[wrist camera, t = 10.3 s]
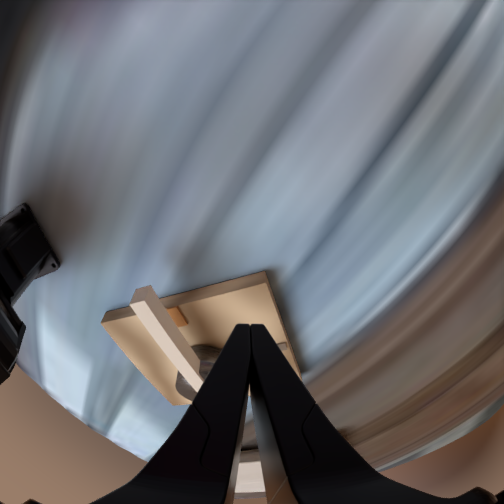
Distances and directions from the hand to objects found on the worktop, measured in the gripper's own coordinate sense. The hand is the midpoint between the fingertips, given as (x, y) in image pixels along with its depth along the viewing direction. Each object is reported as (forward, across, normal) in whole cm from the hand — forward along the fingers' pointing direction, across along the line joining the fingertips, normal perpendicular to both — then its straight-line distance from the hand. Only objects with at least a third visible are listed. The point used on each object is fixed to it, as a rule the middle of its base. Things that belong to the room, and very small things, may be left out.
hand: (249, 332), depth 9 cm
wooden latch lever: (+10, +4, +11) cm, 16 cm away
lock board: (+12, +3, +15) cm, 19 cm away
